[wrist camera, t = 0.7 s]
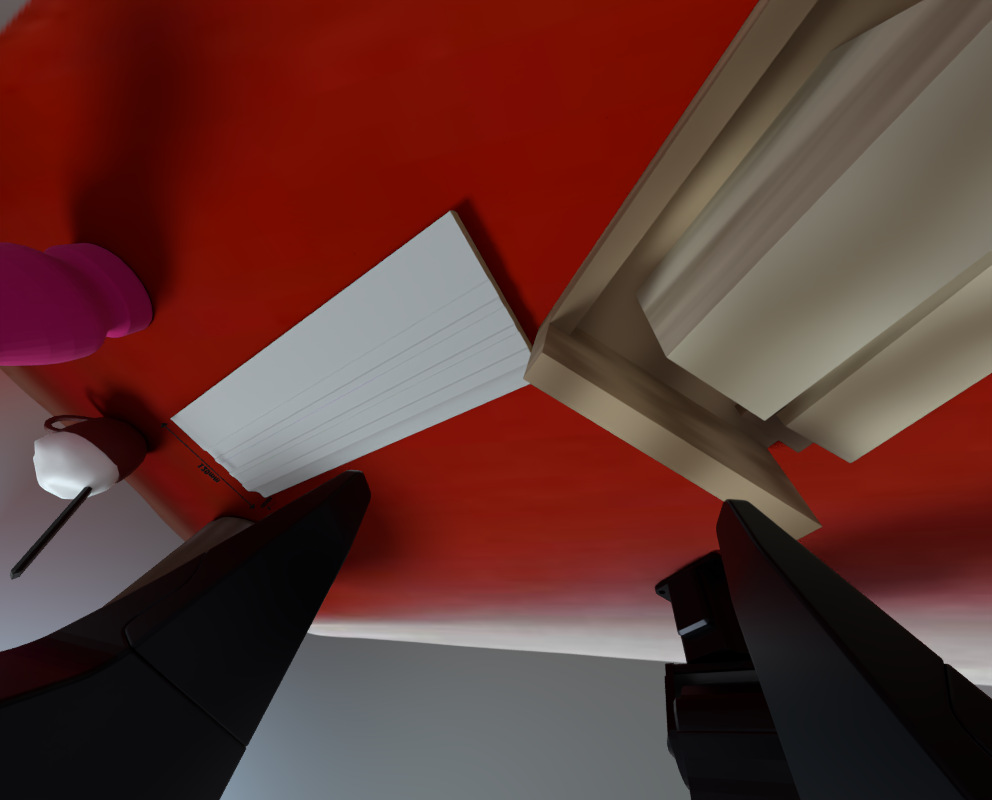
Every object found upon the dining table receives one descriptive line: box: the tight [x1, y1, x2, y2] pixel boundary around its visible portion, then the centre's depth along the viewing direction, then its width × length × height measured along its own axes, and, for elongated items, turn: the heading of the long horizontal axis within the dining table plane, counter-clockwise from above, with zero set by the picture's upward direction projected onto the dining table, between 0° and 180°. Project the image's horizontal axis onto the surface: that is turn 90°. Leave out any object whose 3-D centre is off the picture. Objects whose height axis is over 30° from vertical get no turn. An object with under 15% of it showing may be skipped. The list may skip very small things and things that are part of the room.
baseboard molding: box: [161, 211, 533, 510], centre depth 26 cm, size 31×3×12 cm
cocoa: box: [10, 415, 147, 579], centre depth 30 cm, size 10×6×12 cm, turn 22°
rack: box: [523, 0, 923, 540], centre depth 14 cm, size 15×19×6 cm
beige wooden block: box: [635, 0, 992, 421], centre depth 12 cm, size 4×10×8 cm, turn 151°
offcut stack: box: [734, 250, 992, 463], centre depth 15 cm, size 4×14×3 cm, turn 151°
